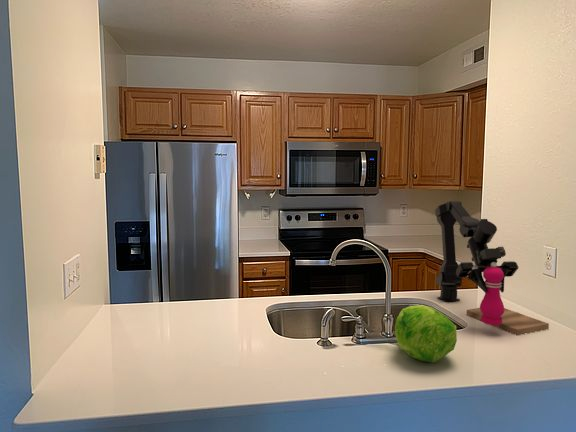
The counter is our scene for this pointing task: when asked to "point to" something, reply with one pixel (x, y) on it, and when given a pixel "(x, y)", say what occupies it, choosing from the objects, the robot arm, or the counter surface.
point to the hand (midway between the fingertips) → (494, 292)
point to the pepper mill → (492, 296)
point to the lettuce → (425, 333)
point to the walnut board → (514, 322)
